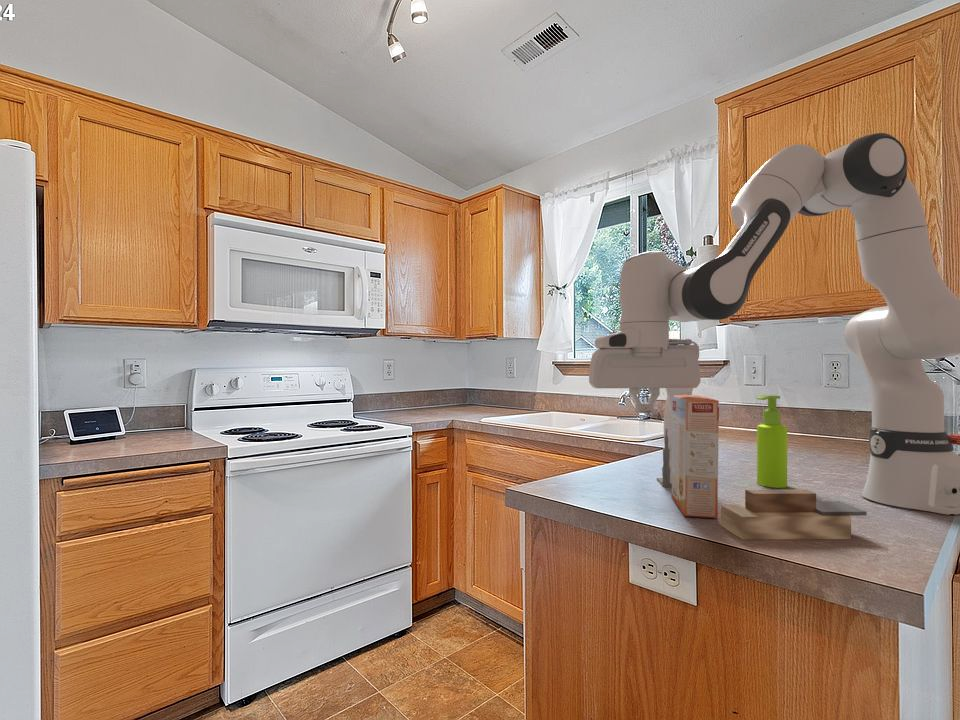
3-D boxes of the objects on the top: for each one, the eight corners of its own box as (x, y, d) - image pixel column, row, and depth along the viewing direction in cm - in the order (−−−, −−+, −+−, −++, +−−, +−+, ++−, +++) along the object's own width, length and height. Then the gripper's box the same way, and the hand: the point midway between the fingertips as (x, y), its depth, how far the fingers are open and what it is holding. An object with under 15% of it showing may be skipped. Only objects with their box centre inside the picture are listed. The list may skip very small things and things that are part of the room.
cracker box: (720, 520, 90) (720, 399, 91) (683, 517, 92) (683, 398, 92) (702, 499, 104) (702, 394, 104) (670, 497, 105) (671, 393, 105)
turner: (839, 504, 87) (839, 487, 87) (866, 515, 81) (866, 496, 81) (739, 505, 87) (739, 487, 87) (759, 515, 81) (759, 496, 81)
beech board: (820, 524, 88) (820, 504, 88) (851, 539, 81) (851, 516, 81) (720, 525, 87) (720, 504, 87) (742, 539, 80) (742, 516, 80)
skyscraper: (655, 478, 123) (655, 359, 123) (691, 479, 122) (691, 359, 122) (663, 486, 114) (663, 359, 114) (701, 488, 113) (702, 359, 113)
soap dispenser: (747, 483, 118) (747, 394, 118) (769, 480, 120) (769, 394, 121) (771, 489, 112) (771, 396, 112) (793, 486, 115) (793, 395, 115)
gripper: (691, 339, 101) (692, 410, 101) (586, 339, 101) (587, 411, 101) (706, 338, 95) (706, 414, 95) (594, 338, 94) (594, 414, 94)
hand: (644, 412), depth 98 cm, fingers closed
